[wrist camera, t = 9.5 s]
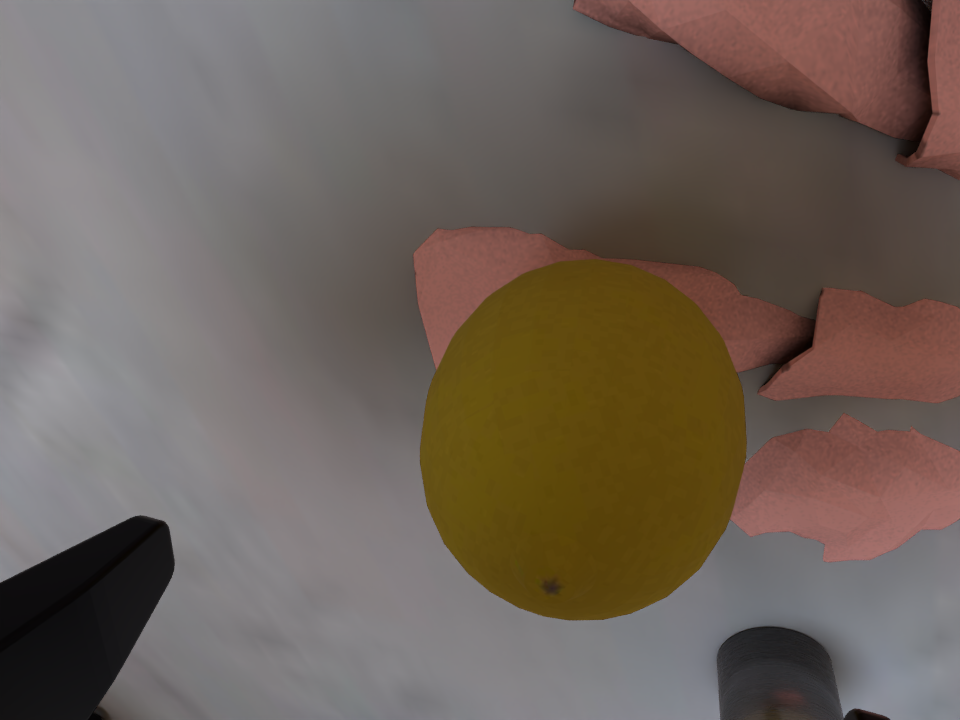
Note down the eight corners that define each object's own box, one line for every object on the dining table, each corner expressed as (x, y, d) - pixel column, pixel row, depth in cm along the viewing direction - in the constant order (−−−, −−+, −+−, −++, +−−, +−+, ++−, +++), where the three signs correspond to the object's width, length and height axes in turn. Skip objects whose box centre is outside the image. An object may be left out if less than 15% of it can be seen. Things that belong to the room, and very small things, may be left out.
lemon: (677, 457, 17) (680, 774, 11) (461, 388, 18) (330, 648, 11) (773, 249, 15) (861, 501, 8) (512, 175, 15) (380, 349, 8)
